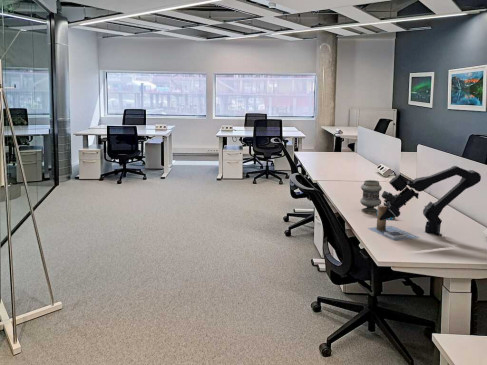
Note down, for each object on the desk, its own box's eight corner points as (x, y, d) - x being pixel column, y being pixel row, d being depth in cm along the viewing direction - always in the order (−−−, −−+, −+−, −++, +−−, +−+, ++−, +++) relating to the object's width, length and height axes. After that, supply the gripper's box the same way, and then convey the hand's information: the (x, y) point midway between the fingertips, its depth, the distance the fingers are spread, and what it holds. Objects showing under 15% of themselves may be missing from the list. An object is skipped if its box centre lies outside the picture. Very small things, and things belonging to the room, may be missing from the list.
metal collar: (397, 233, 238) (397, 231, 238) (407, 238, 231) (407, 235, 231) (383, 235, 236) (384, 232, 235) (393, 239, 228) (393, 236, 228)
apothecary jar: (355, 209, 292) (357, 179, 289) (373, 208, 296) (375, 179, 293) (366, 213, 281) (368, 183, 278) (384, 212, 285) (386, 182, 281)
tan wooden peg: (382, 227, 248) (383, 205, 246) (387, 230, 244) (388, 207, 242) (374, 228, 247) (376, 205, 245) (379, 230, 243) (381, 207, 241)
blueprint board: (391, 227, 253) (391, 225, 252) (420, 239, 232) (420, 237, 232) (367, 230, 248) (367, 227, 247) (393, 242, 227) (394, 240, 227)
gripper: (389, 182, 250) (366, 202, 254) (395, 189, 232) (370, 211, 235) (403, 198, 250) (380, 217, 254) (410, 206, 232) (385, 227, 236)
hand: (378, 218), depth 245 cm, fingers open, 6 cm apart
